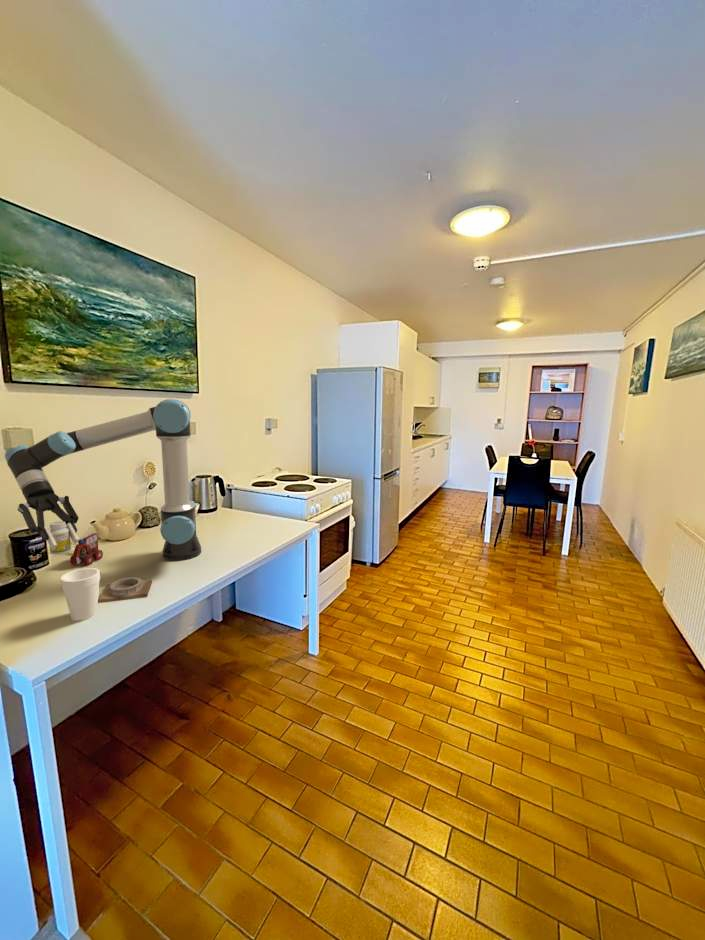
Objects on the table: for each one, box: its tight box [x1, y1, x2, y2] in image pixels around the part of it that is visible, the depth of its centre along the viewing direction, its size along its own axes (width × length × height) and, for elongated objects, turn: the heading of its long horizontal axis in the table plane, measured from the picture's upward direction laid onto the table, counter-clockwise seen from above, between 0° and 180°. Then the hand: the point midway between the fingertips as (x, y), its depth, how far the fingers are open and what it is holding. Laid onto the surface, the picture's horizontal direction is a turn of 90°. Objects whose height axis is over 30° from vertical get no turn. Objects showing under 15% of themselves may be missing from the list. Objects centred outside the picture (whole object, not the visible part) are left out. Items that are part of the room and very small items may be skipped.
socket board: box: [98, 576, 153, 603], centre depth 130 cm, size 14×11×3 cm
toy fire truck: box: [69, 532, 104, 566], centre depth 152 cm, size 7×12×10 cm, turn 176°
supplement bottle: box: [49, 520, 72, 556], centre depth 122 cm, size 5×5×10 cm
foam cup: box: [60, 567, 101, 622], centre depth 114 cm, size 10×9×13 cm
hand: (65, 544), depth 120 cm, fingers closed on supplement bottle, 5 cm apart
